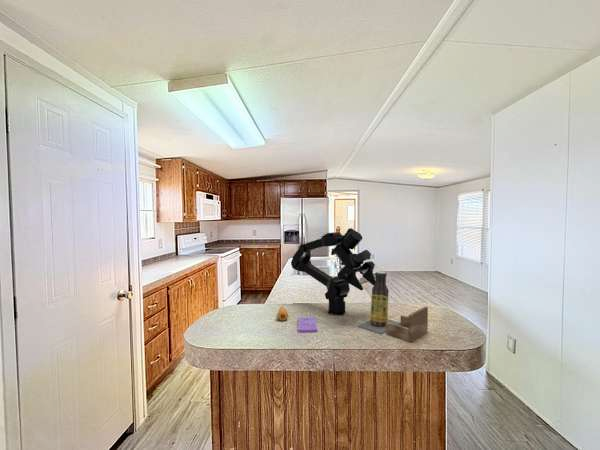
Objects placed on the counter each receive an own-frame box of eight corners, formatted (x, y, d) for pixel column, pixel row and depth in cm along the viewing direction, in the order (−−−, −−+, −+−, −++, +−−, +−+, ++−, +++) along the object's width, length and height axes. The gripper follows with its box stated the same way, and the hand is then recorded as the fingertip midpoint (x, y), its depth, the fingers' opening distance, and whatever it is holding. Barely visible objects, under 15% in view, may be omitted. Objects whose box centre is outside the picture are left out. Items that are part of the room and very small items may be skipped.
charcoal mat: (357, 326, 113) (357, 325, 113) (378, 317, 123) (378, 316, 123) (381, 334, 106) (381, 333, 106) (401, 323, 116) (401, 322, 116)
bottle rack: (385, 334, 106) (385, 309, 106) (402, 325, 115) (402, 301, 114) (411, 342, 99) (411, 315, 99) (427, 332, 108) (427, 307, 107)
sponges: (315, 321, 121) (315, 316, 121) (317, 334, 108) (317, 328, 108) (298, 321, 121) (297, 316, 121) (297, 334, 108) (297, 329, 108)
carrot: (286, 323, 119) (290, 312, 120) (275, 319, 119) (279, 308, 119) (284, 312, 139) (288, 303, 140) (275, 308, 139) (279, 299, 139)
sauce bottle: (369, 325, 113) (369, 273, 112) (371, 320, 119) (372, 270, 118) (387, 328, 111) (387, 274, 110) (389, 322, 116) (389, 271, 116)
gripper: (343, 245, 114) (368, 279, 107) (371, 241, 127) (395, 271, 120) (327, 264, 120) (350, 296, 113) (355, 258, 133) (377, 287, 126)
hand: (369, 287), depth 117 cm, fingers open, 9 cm apart
